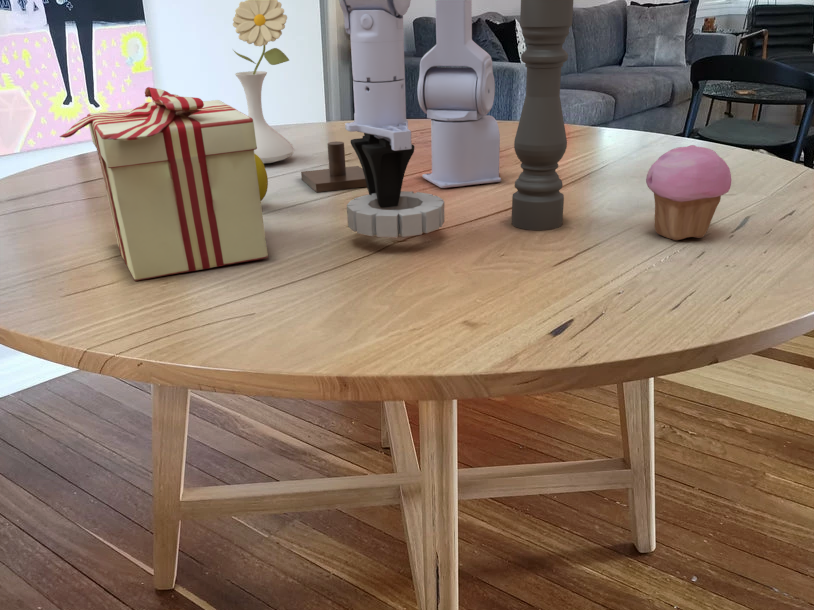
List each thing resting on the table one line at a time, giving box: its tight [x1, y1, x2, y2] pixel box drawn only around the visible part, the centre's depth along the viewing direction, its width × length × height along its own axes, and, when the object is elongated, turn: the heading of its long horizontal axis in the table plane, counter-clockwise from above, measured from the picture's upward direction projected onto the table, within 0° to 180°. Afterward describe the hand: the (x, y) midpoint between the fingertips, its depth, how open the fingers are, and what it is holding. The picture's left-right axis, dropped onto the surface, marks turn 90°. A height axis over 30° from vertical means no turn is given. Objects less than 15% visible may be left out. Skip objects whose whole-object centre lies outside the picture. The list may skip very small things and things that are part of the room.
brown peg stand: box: [300, 141, 367, 193], centre depth 121 cm, size 9×9×6 cm
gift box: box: [59, 86, 269, 282], centre depth 88 cm, size 17×18×17 cm
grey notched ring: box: [346, 190, 445, 239], centre depth 94 cm, size 11×11×2 cm
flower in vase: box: [232, 0, 295, 165], centre depth 131 cm, size 13×11×25 cm
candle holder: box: [511, 0, 574, 231], centre depth 94 cm, size 6×6×25 cm
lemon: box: [254, 154, 269, 202], centre depth 108 cm, size 6×6×8 cm
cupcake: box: [645, 144, 732, 241], centre depth 91 cm, size 9×9×10 cm
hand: (384, 203), depth 97 cm, fingers closed on grey notched ring, 2 cm apart
